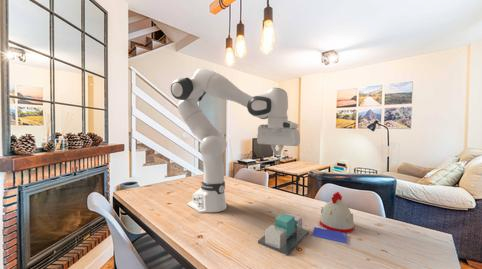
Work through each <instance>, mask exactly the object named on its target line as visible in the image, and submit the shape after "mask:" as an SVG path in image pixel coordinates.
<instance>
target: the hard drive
mask: <svg viewBox="0 0 482 269" xmlns="http://www.w3.org/2000/svg"><path fill="white" fill-rule="evenodd" d="M311 237H312V238H315V239H319V240H322V241H323V240H324V241H326V242H327V241H328V242H331V243H332V242H333V243H334V244H335V243H336V244H340V245H344V246H347V245H348V233H342V232H337V231H332V230H328V229H325V228H324V227H322V228H321V227H318V226H317V227H316V226H314V228H313V229H312V234H311Z"/></svg>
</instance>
